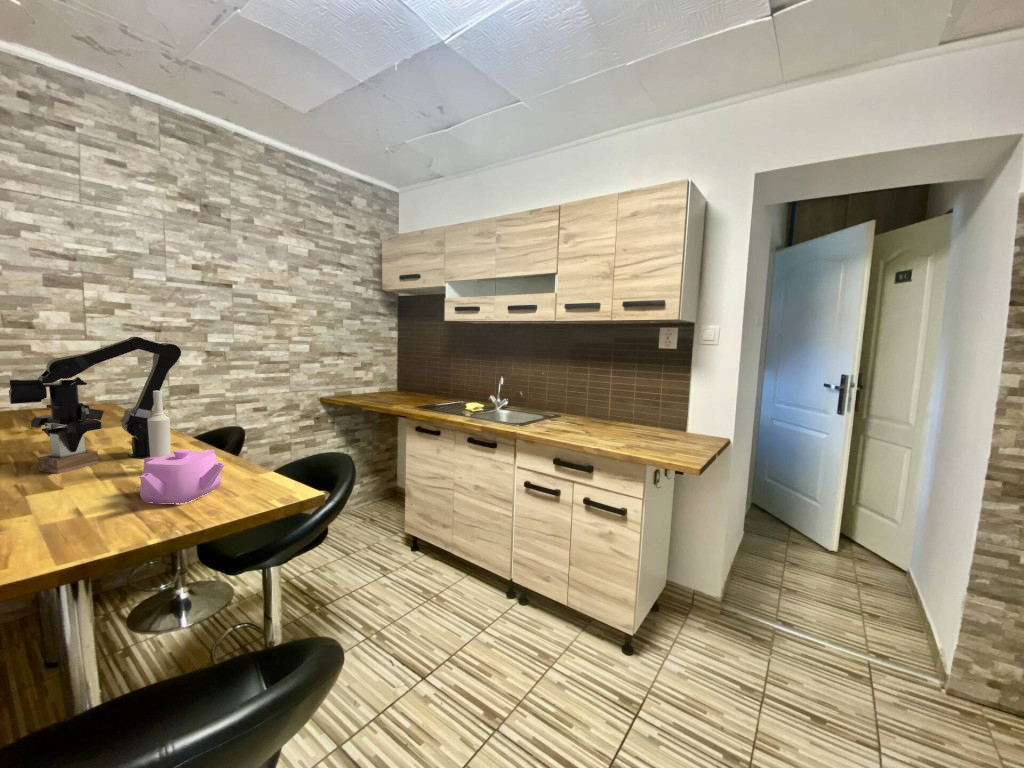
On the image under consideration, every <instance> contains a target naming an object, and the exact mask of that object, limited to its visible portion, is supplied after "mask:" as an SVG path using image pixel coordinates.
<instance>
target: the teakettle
mask: <svg viewBox="0 0 1024 768" xmlns="http://www.w3.org/2000/svg"><path fill="white" fill-rule="evenodd" d="M224 467H225V463H222V462H219V461H218V458H217V455H216V450H215V449H207V448H206V449H205V450H201V451H199V450H190V449H187V448H181V449H175V450H174V451H173V452H172V453H171V454H168V455H165V456H162V457H146V458H143V469H142V473H141V474H142V475H139V479H140V488H139V492H140V498H141V500H142V502H143V501H144V502H153V503H174V504H176V503H179V504H180V503H185V502H189V501H191V500H194V499H196V498H198V497H200V496H202V495H205V494H207V493H209V492H211V491H212V490H214V489H216V488H217V487H220V485H221V481H222V478H221V477H222V476H221V472H222V470H223V469H224ZM216 490H217V489H216ZM211 493H212V492H211ZM209 494H210V493H209ZM144 502H143V503H144Z"/></svg>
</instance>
